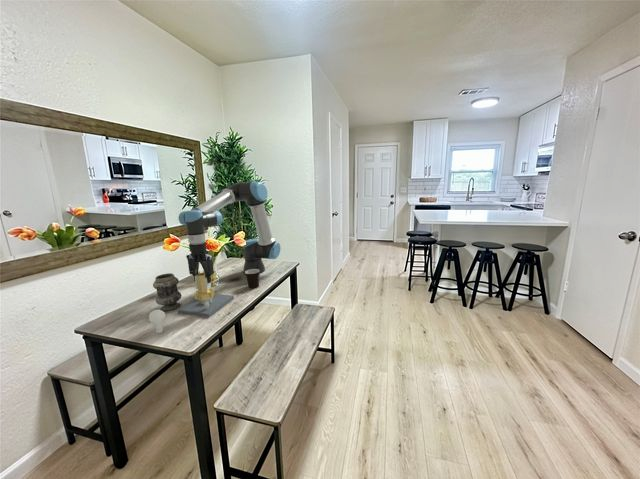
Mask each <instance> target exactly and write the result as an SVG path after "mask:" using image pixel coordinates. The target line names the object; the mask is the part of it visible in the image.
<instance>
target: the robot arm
mask: <svg viewBox="0 0 640 479" xmlns="http://www.w3.org/2000/svg"><path fill="white" fill-rule="evenodd" d="M267 199H268V190H267V187H266V185H265V184H264V183H263V182H261V181H243V182H242V181H240V182H239V181H238V182H235V183H233V184H231V185H229V186H227V187H225V188H223V189H222V190H221V192H220V193H218V194H216V195H215V196H213V197H211V198H210V199H208V200H206V201H204V202H203V203H201V204H199V205H197V206H196V207H194V208H192V209H190V210H185V211H181V212H180V213H179V214H178V222H179V223H180V224H181V225H183V226H185V227H186V228H185V229H186V234H187V241H188V248H189V252H190V253H188V254H187V255H186V256H185V257H186V260H187V264H188V266H187V267H188V272H189V275H192V276H193V279H194V280H193V282H195V287H196V290H198V284H197V278H196V274H198V273H199V269H200V265H201V267H202V270H203V272H204V273H205V275H206V276H205V284H206V290H208V289H210V288H212V284H211V283H212V277H211V276H213V275H215V271H214V265H213V255H212V254H208V253H207V250H208V247H207V242H206V241H207V239H206V232H205V229H208V228H211V227H216V226H219V225H221V224H222V222H223V215H222V213H221V212H220V210H221V209H222V208H224V207H225V206H228V205H229V204H230V205H231V204H234V203H236V202H245V203H246V206H248V207H249V209H250V211H251V214H252V218H253V221H254V225H255V229H256V232H257V236H258V237H257V238H251V239H248V240H245V241H246V245H244V246H242V249H243V254H244V255H243V256H244V264H243V274H245V271H247V270H250V269H258V270H259V274H262V273H264V272H265V271H266V267H265V264H264V261H263V260H262V259H265V260H266V259H268V260H276V259H277V258H278V257H279V256H280V254H281V250H282V248H281V244H280V243H279V242H277V241H276V238H275V237H274V236H272V232H271V227H270V223H269V220H268V215H267V212H266V208H265V204H266V200H267Z"/></svg>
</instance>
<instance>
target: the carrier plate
mask: <svg viewBox="0 0 640 479" xmlns="http://www.w3.org/2000/svg"><path fill="white" fill-rule="evenodd" d="M234 296H235V295H230V294H220V293H215V295H214V297H213V298H210V299H208V300H203V301H201V300H200V301H198V300H197V299H195V298H194V299H193V300H191V301H190V302H187V303H186V304H184V305H183V306H180V307H179V308H178V309H176V311H177V314H178V315H179V314H180V315H186V316H187V315H188V316H192V317H193V316H194V317H201V318H207V319H209V318H211V317H212V316H214V315H215V314H216V313H218V312H219V311H220V310H221V309H223V308H224V307H226V306H227V305H228V304H229V303H231V302H232V301H234V299H235V298H234Z"/></svg>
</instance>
